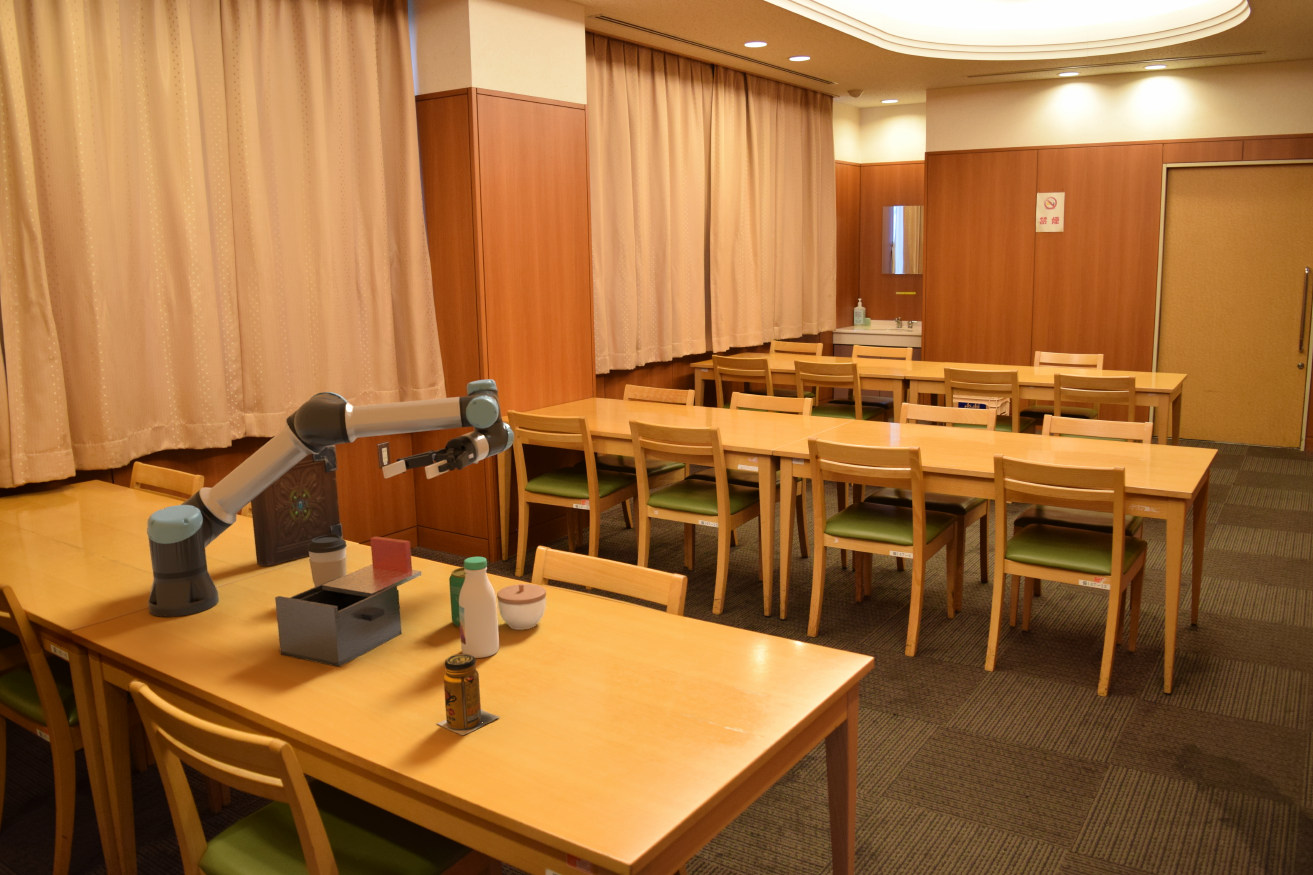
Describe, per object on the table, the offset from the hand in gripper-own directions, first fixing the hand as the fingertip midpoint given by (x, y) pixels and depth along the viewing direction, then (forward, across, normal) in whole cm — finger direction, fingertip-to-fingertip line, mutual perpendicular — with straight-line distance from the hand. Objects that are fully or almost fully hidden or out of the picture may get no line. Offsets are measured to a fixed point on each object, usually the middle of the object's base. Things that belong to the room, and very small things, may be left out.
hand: (405, 473), depth 224 cm
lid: (+16, 0, -21) cm, 26 cm away
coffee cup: (+7, +26, -30) cm, 40 cm away
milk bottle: (+17, -29, -34) cm, 48 cm away
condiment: (+42, -48, -34) cm, 72 cm away
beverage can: (+5, -16, -34) cm, 38 cm away
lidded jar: (+1, -28, -35) cm, 45 cm away
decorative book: (-12, +60, -28) cm, 67 cm away
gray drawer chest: (+27, 0, -30) cm, 41 cm away
